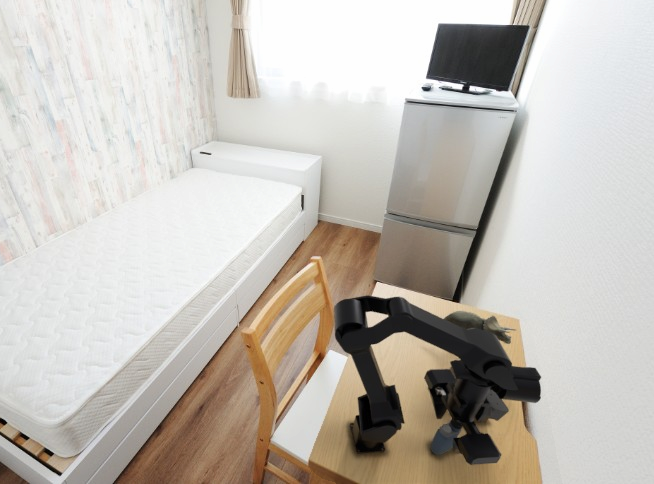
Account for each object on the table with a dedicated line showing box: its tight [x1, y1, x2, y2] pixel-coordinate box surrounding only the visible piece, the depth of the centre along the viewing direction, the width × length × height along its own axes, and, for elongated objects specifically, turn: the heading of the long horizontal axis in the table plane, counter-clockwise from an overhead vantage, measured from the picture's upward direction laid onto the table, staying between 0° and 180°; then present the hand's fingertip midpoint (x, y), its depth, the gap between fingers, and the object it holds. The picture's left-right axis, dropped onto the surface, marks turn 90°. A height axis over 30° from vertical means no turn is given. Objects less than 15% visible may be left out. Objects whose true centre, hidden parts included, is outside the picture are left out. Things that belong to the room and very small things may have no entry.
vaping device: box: [430, 418, 463, 456], centre depth 74 cm, size 3×5×12 cm, turn 112°
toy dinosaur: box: [443, 310, 517, 345], centre depth 103 cm, size 22×8×11 cm, turn 62°
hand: (446, 434), depth 74 cm, fingers open, 7 cm apart
